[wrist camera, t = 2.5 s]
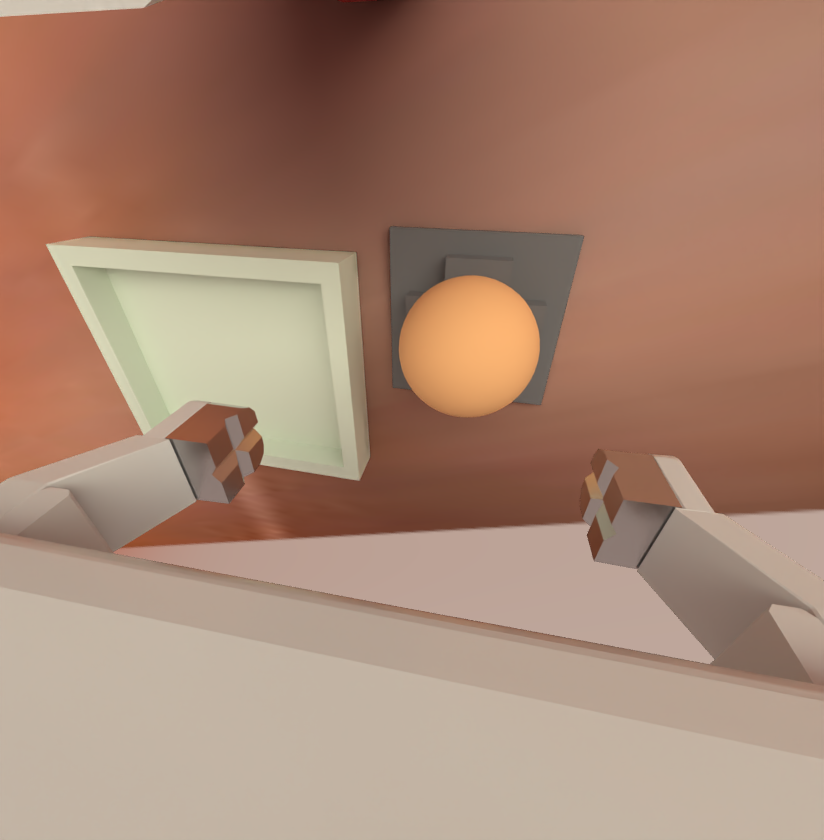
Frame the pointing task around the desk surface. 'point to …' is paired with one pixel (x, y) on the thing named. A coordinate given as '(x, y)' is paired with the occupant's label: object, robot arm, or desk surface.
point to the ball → (469, 346)
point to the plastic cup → (75, 6)
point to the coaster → (494, 258)
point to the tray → (232, 338)
